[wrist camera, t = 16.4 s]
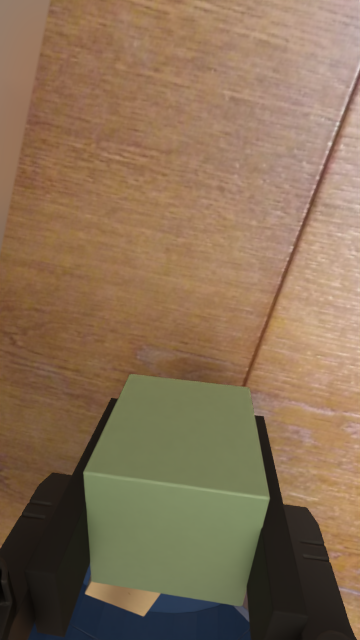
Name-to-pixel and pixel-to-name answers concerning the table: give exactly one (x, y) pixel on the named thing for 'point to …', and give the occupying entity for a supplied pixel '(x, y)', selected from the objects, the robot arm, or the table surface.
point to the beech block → (123, 597)
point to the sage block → (177, 490)
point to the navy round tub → (154, 620)
